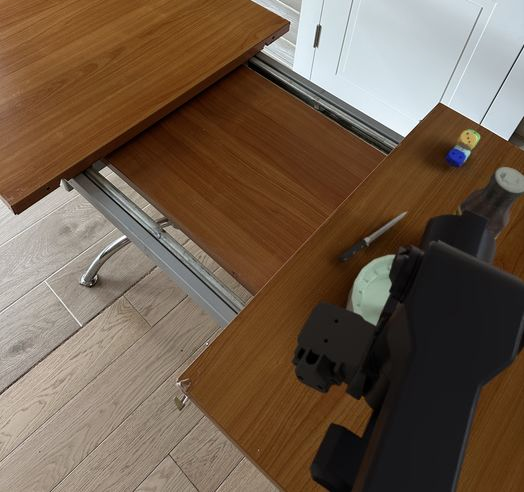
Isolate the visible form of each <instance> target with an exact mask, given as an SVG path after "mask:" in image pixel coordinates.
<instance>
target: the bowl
mask: <svg viewBox="0 0 524 492" xmlns="http://www.w3.org/2000/svg"><path fill="white" fill-rule="evenodd" d="M395 255H396V254H387V255H384V256H379V257H378V258H374V259H373V260H372V261H370V262H369V263H367V264H366V265H365V266H364V267H362V268H361V270H360V271H359V273H358V275H357V276H356V278H355V279H354V281H353V283H352V286H351V288H350V291H349V292H348V297H347V301H346V307H345V309H347V310H349V311H352V312H355V313H357V314H359V315H361V316H362V317H363V318H364V320H366V321H368V322H370V323H372V324H374V325H375V326H376V324H377V322H378V320H379V318H380V314H381V311H382V309H383V307H384V305H385V303H386V301H387V298H388V296H389V294H390V292H389V290H390V287H391V285H392V283H391V281H390V278H389V273H390V269H391V265H392V262H393V259H394V257H395Z"/></svg>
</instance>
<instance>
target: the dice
mask: <svg viewBox="0 0 524 492" xmlns="http://www.w3.org/2000/svg"><path fill="white" fill-rule="evenodd" d="M480 139H481V135H480V134H479V133H478V132H477V131H475V130H473V129H470V128H469V129H466V130H463V131H462V132H461V133H460V135H459V137H458V138H457V140H456V145H455V146H454V147H453V148H451V150H450V151H449V152H448V153H447V155H446V156H445V161H446V163H447V164H449V166H451V167H453V168H460V167H461V166H462V165H463V164H464V163H465V162H466V161H467V159H468V158H469V157H470V155H471V151H472V150H473V149H474V148H476V146H477V144H478V143H479V141H480Z"/></svg>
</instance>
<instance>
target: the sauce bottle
mask: <svg viewBox="0 0 524 492" xmlns="http://www.w3.org/2000/svg"><path fill="white" fill-rule="evenodd" d="M523 194H524V175H523V173H521V172H520V171H518V170H517V169H515V168H512V167H508V166H501V167H498V168H497V169H496V170H495V171H494V172H493V173H492V175H491V176H490V179H489V182H488V183H487V184H486V185H485V186H484V187H483V188H479V189H475V190H473V191H471V193H470V194H469V195H468V196H466V198H465V199H464V200H463V201H462V202H461V203H460V205H458V206H457V208H456V209H455V211H454V212H453V213H452V214H453V215H460V216H461V214H462V213H463V211H464V209H467V210H470V211H472V212H474V213H476V214H479V215H481V216H483V217H485V218H488V219H489V222H488V225H487V229H488V230H489V231H490V232H491V233H492V235H493V237H494V238H495V240H497V238H498V237H499V235H501V233H502V231H503V230H504V229H505V228H507V225H508V224H509V223H510V219H511V207H512V205H513V203H514V202H515V201H516V199H518V198H520V197H521V196H522V195H523Z"/></svg>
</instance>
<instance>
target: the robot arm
mask: <svg viewBox="0 0 524 492" xmlns="http://www.w3.org/2000/svg"><path fill="white" fill-rule="evenodd" d="M453 214H454V213H448V214H447V213H446V214H439V215H436V216H434V217H430V218H429V219H428V220H427V222H426V225H425V227H424V230H423V232H422V235H421V237H420V239H419V242H418V245H417V246H416V245H413V244H411V243H409V244H408V245H407V247H406V248H404V247H402V246H399V247H398V249H397V251H396V253H395V254H394V255H395V257H394V259H393V262H392V265H391V269H390V273H389V278H390V281H391V283H392V285H391V287H390V290H389V292H390V294H389V296H388V298H387V301H386V303H385V305H384V307H383V309H382V311H381V314H380V318H379V320H378V322H377V324H376V326H375V325H374V324H372V323H370V322H368V321H366V320H364V318H363V317H362V316H361V315H359V314H357V313H355V312H352V311H349V310H347V309H346V308H344V307H341V306H338V305H336V304H333V303H330V302H327V301H322V302H319V303H317V304H315V306H314V307H313V309H312V310H311V312H310V314H309V315H308V317H307V319H306V321H305V322H304V325H303V326H302V328H301V330H300V332H299V333H298V335H297V346H296V347H295V350H294V352H293V355H294V356H293V358H292V359H291V364H293V366H294V367H295V368H294V375H295V377H296V379H297V380H298V381H299V382H300V383H301V384H303V385H305V386H307V387H309V388H311V389H313V390H315V391H317V392H320V393H321V394H327V393H329V391H330V389H331V387H332V386H337V387H341V386H342V385H343V383H344V384H345V385H347V386H346V388H345V390H344V393H345V394H347V395H349V396H351V397H352V398H354V399H355V400H357V401H360V400H361V399H362V398H363V400H364V401H365V403H366V404H367V406H369V408H370V409H371V413H370V415H369V417H368V420H367V423H366V424H365V427H364V430H363V432H362V435H361V436H359V435H358V434H356V432H354V431H352V430H350V429H348V427H346V426H344V425H341V424H337V423H335V422H331V423H330V424H329V426H328V427H327V429H326V431H325V434H324V435H323V438H322V440H321V441H320V444H319V446H318V448H317V450H316V453H315V454H314V456H313V459H312V461H311V463H310V466H309V473H310V476H311V480H312V481H313V482H315V483H316V484H318V485H319V486H320V487H322V488H323V489H325V490H326V491H328V492H457V490H458V486H459V481H460V478H461V473H462V470H463V465H464V461H465V457H466V452H467V449H468V444H469V441H470V435H471V432H472V427H473V423H474V419H475V415H476V411H477V407H478V404H479V401H480V399H481V394H482V392H483V388H484V387H486V386H487V385H488V384H489V383H491V382H492V381H493V380H494V379H496V378H497V377H499V375H501V374H502V373H503V372H504V371H505V370H507V369H508V368H509V367H511V366H512V365H513V364H514V363H515V361H516V359H517V357H518V356H519V355H520V354H521V352H522V350H524V281H523V280H522V279H521V278H520V277H519V276H516V275H515V274H512V273H510V272H508V271H506V270H503V269H502V268H499V267H497V266H495V265H493V264H494V261H495V257H496V253H497V247H498V244H497V241H496V240H497V239H495V238H494V237H493V235H492V233H491V232H490V231H489V230H488V229H487V225H488V222H489V219H488V218H485V217H483V216H481V215H479V214H476V213H474V212H472V211H470V210H467V209H464V211H463V213H462V214H461V216H460V215H453Z"/></svg>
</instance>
